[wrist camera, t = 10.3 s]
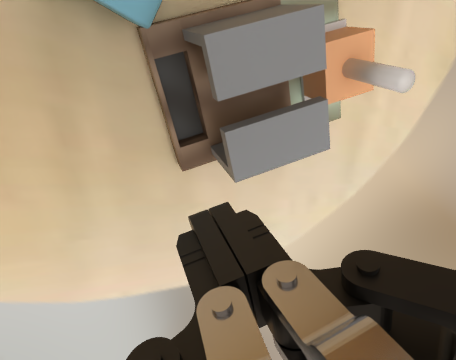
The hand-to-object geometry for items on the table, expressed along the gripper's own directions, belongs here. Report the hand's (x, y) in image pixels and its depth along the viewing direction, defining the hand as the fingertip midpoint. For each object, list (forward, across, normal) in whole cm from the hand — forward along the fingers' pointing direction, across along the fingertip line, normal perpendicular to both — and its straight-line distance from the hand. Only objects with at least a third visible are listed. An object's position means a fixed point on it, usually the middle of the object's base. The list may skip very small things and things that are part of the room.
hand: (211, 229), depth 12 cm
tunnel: (+26, -12, +3) cm, 29 cm away
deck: (+29, -13, +3) cm, 32 cm away
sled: (+26, -21, +3) cm, 34 cm away
